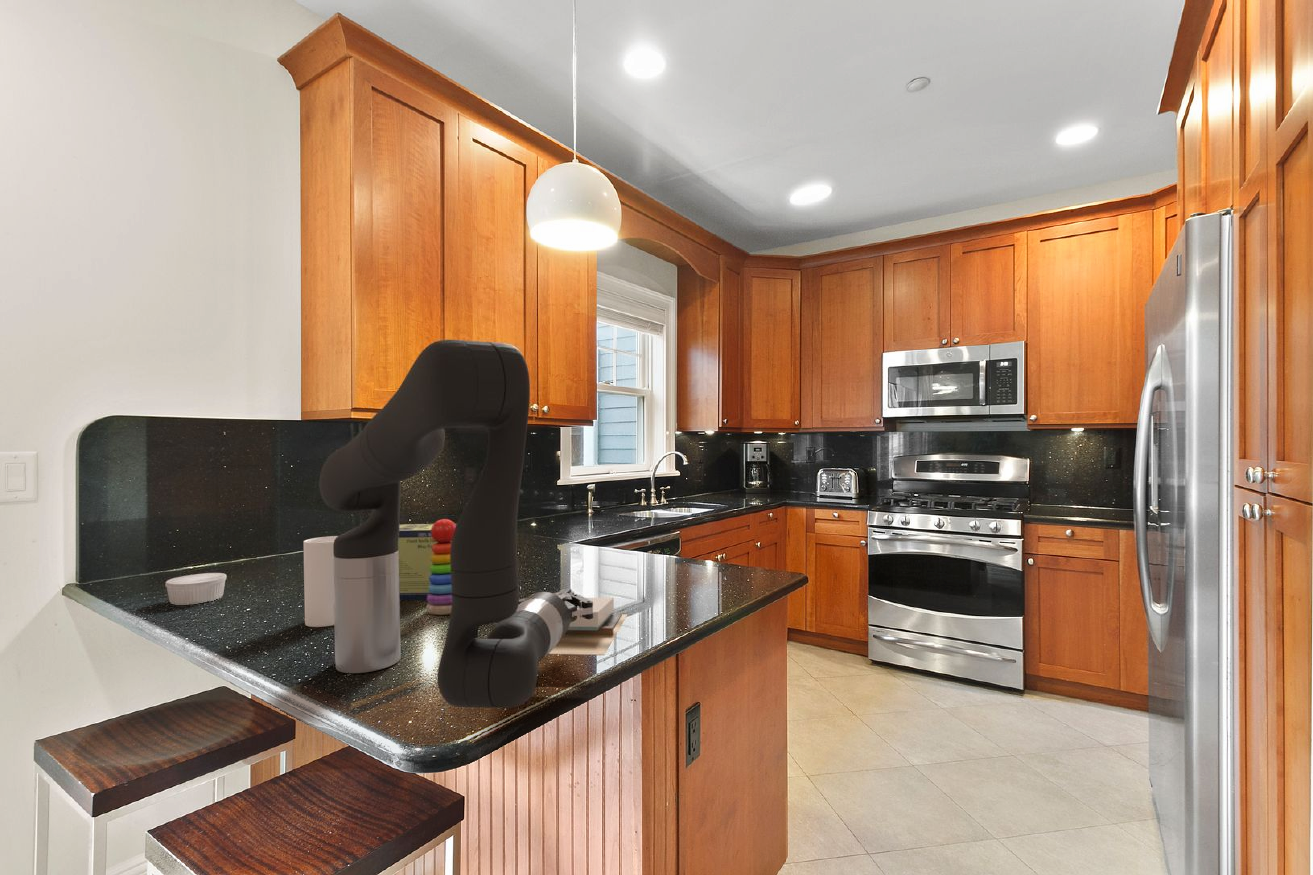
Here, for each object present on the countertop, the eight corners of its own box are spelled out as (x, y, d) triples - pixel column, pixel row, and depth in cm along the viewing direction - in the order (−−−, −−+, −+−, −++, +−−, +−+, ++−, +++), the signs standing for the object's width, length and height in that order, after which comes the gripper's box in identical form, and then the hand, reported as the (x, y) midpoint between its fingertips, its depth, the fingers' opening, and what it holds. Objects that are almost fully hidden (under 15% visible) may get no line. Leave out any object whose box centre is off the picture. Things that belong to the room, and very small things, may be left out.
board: (604, 661, 94) (603, 646, 94) (516, 659, 96) (516, 645, 96) (627, 619, 116) (627, 607, 116) (555, 618, 118) (555, 607, 118)
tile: (597, 612, 102) (613, 597, 116) (545, 611, 103) (567, 597, 117) (597, 630, 102) (613, 614, 116) (545, 629, 103) (567, 613, 117)
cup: (299, 621, 120) (298, 539, 120) (344, 612, 126) (342, 534, 126) (312, 629, 114) (310, 544, 114) (358, 620, 120) (356, 538, 120)
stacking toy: (473, 605, 129) (471, 516, 129) (457, 616, 121) (455, 521, 121) (437, 605, 130) (435, 517, 130) (419, 616, 122) (417, 522, 122)
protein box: (445, 599, 135) (444, 528, 135) (374, 600, 135) (373, 530, 135) (460, 587, 145) (459, 522, 146) (394, 589, 145) (393, 524, 145)
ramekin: (202, 607, 133) (202, 583, 133) (151, 608, 133) (151, 584, 133) (238, 594, 144) (238, 572, 144) (192, 595, 144) (191, 573, 144)
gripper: (582, 599, 82) (606, 571, 100) (487, 598, 84) (527, 571, 101) (583, 655, 82) (607, 618, 100) (488, 653, 84) (528, 617, 101)
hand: (567, 594), depth 100 cm, fingers closed
